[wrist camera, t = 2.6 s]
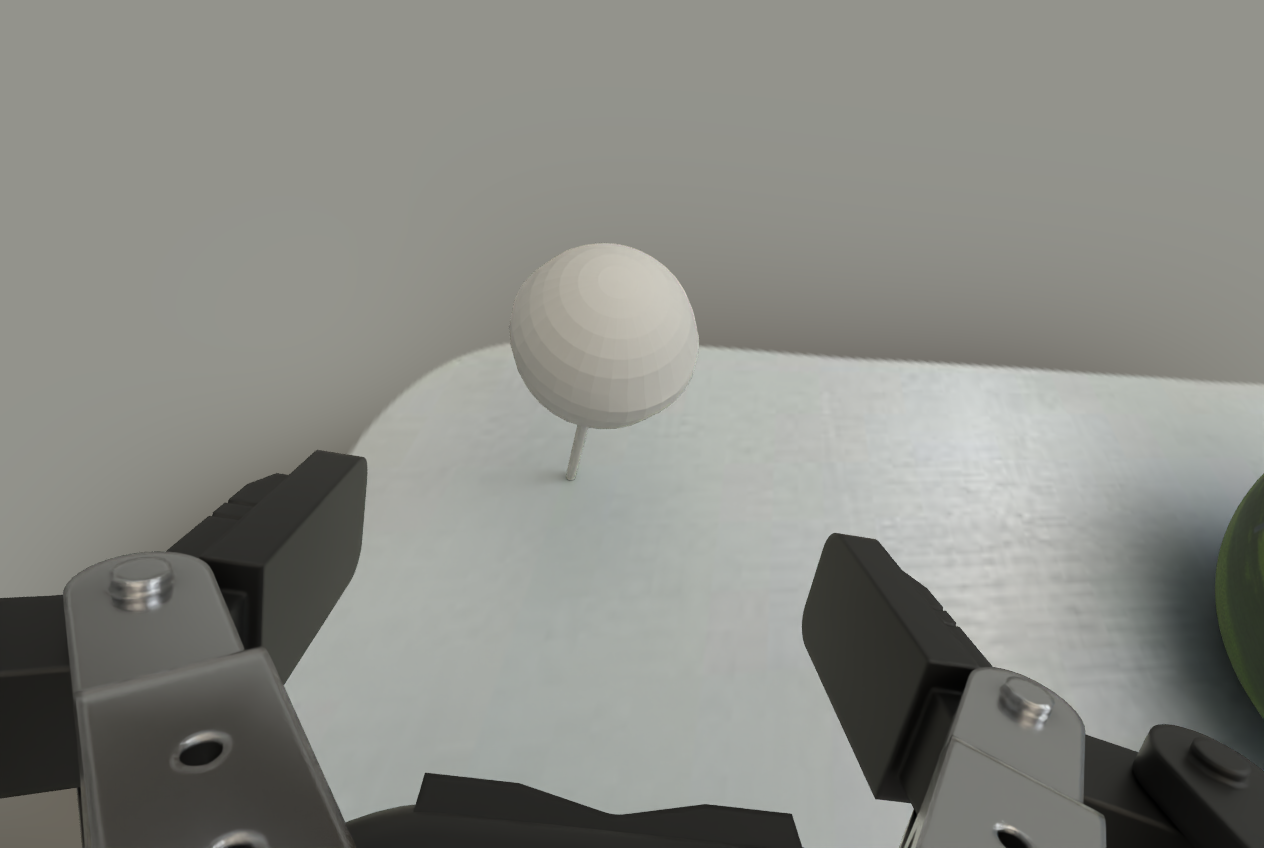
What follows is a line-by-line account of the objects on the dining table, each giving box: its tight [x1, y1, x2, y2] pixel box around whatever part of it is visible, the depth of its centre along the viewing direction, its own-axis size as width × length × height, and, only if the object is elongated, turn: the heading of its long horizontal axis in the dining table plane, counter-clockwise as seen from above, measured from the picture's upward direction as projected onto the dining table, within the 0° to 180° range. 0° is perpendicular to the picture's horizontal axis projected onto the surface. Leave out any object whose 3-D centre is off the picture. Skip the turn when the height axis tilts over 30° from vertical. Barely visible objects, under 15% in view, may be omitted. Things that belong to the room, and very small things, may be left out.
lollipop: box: [509, 243, 699, 480], centre depth 26 cm, size 6×6×15 cm
